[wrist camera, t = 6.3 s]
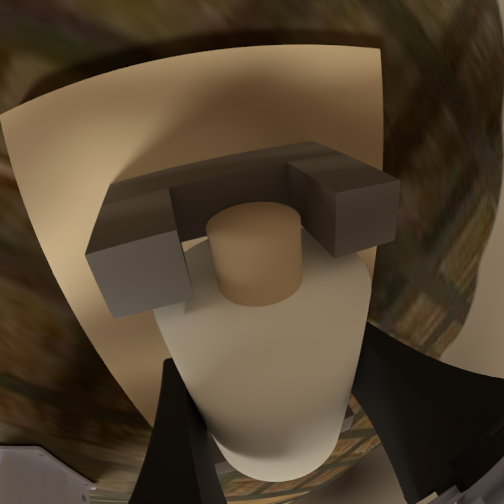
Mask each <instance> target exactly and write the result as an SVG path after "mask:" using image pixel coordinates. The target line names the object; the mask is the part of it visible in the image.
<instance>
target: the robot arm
mask: <svg viewBox="0 0 504 504" xmlns="http://www.w3.org/2000/svg"><path fill="white" fill-rule="evenodd" d="M351 393H352V394H353V395H354V397H355V398H356V400H357V401H358V403H359V404H360V406H361V407H362V409H363V410H364V411H365V413H366V415H367V416H368V418H369V419H370V421H371V423H372V425H373V427H374V429H375V431H376V433H377V434H378V436H379V438H380V440H381V442H382V444H383V447H384V449H385V451H386V453H387V455H388V457H389V459H390V462H391V464H392V466H393V469H394V471H395V473H396V476H397V478H398V481H399V484H400V486H401V489H402V492H403V495H404V498H405V500H406V502H407V503H408V504H416V503H417V502H419V501H421V500H422V499H424V498H426V497H427V496H429V495H430V494H432V493H433V492H436V493H437V495H438V497H437V498H435V499H434V500H432V501H431V502H429V503H428V504H454V503H455V502H457V504H504V379H502V378H496V377H491V376H486V375H482V374H477V373H474V372H470V371H466V370H463V369H460V368H457V367H454V366H451V365H448V364H446V363H443V362H441V361H438V360H436V359H434V358H431V357H429V356H427V355H425V354H423V353H420V352H418V351H416V350H415V349H413V348H411V347H409V346H407V345H405V344H403V343H401V342H400V341H398V340H396V339H395V338H393V337H391V336H390V335H388V334H386V333H385V332H383V331H381V330H380V329H378V328H377V327H375V326H373V325H372V324H370V323H369V322H367V321H366V325H365V330H364V336H363V341H362V346H361V350H360V355H359V360H358V364H357V369H356V373H355V377H354V381H353V385H352V390H351ZM89 489H96V485H95V484H94V483H92V482H90V481H89V480H87V479H86V478H84V477H83V476H81V475H79V474H78V473H76V472H75V471H73V470H72V469H70V468H69V467H67V466H66V465H65V464H63V463H62V462H60V461H59V460H57V459H56V458H55V457H53V456H52V455H51V454H49V453H48V452H47V451H45V450H44V449H43V448H41V447H39V446H0V504H90V496H89ZM128 504H227V502H226V499H225V497H224V494H223V491H222V488H221V485H220V482H219V479H218V476H217V472H216V469H215V464H214V460H213V455H212V450H211V445H210V440H209V435H208V429H207V426H206V424H205V422H204V420H203V418H202V416H201V414H200V413H199V411H198V409H197V407H196V405H195V403H194V401H193V399H192V397H191V395H190V393H189V391H188V389H187V387H186V385H185V383H184V381H183V379H182V377H181V375H180V373H179V371H178V369H177V367H176V364H175V362H174V360H173V358H168V359H165V360H164V361H163V371H162V381H161V388H160V395H159V400H158V406H157V411H156V416H155V421H154V425H153V430H152V434H151V438H150V442H149V446H148V449H147V453H146V456H145V460H144V463H143V466H142V469H141V472H140V475H139V477H138V480H137V483H136V486H135V488H134V491H133V493H132V496H131V498H130V500H129V502H128Z"/></svg>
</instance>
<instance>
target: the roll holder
mask: <svg viewBox="0 0 504 504" xmlns="http://www.w3.org/2000/svg"><path fill="white" fill-rule="evenodd" d="M0 120H1V125H2V129H3V134H4V138H5V142H6V146H7V150H8V153H9V157H10V161H11V164H12V167H13V171H14V174H15V177H16V181H17V184H18V187H19V190H20V193H21V196H22V198H23V201H24V204H25V207H26V210H27V212H28V215H29V218H30V220H31V223H32V225H33V228H34V230H35V233H36V235H37V238H38V240H39V242H40V245H41V247H42V249H43V252H44V254H45V256H46V258H47V260H48V263H49V265H50V267H51V269H52V271H53V273H54V275H55V277H56V279H57V281H58V283H59V285H60V287H61V289H62V291H63V293H64V295H65V297H66V299H67V301H68V303H69V304H70V306H71V308H72V310H73V312H74V314H75V315H76V317H77V319H78V321H79V322H80V324H81V326H82V328H83V329H84V331H85V333H86V334H87V336H88V338H89V339H90V341H91V343H92V344H93V346H94V347H95V349H96V351H97V352H98V354H99V355H100V357H101V358H102V360H103V361H104V363H105V364H106V366H107V367H108V369H109V370H110V372H111V373H112V375H113V376H114V378H115V379H116V380H117V382H118V383H119V385H120V386H121V388H122V389H123V390H124V392H125V393H126V394H127V396H128V397H129V398H130V400H131V401H132V402H133V404H134V405H135V406H136V408H137V409H138V410H139V412H140V413H141V414H142V415H143V417H144V418H145V419H146V420H147V422H148V423H149V424H150V425H151V427H152V428H153V425H154V421H155V416H156V411H157V406H158V400H159V395H160V388H161V381H162V371H163V361H164V360H165V359H168V358H172V356H171V354H170V351H169V349H168V347H167V345H166V342H165V340H164V338H163V336H162V333H161V331H160V329H159V326H158V324H157V322H156V319H155V317H154V312H153V309H157V308H161V307H164V306H168V305H172V304H176V303H180V302H184V301H187V300H191V299H195V296H194V292H193V289H192V284H191V280H190V276H189V272H188V268H187V264H186V260H185V255H184V252H185V251H187V250H188V249H190V248H191V247H193V246H195V245H197V244H199V243H200V242H203V241H205V240H207V239H208V238H207V233H206V225H207V223H208V221H209V220H210V219H211V218H212V217H213V216H214V215H216V214H217V213H219V212H221V211H223V210H225V209H227V208H230V207H233V206H236V205H240V204H244V203H251V202H274V203H280V204H284V205H287V206H289V207H291V208H293V209H294V210H296V211H297V212H298V213H299V215H300V218H301V228H305V229H306V230H307V231H308V232H309V233H310V234H311V235H312V236H313V237H314V238H315V239H316V240H317V241H318V242H319V243H320V244H321V245H322V246H323V247H324V248H325V249H326V250H327V251H328V252H329V253H330V254H331V255H332V257H333V258H334V259H336V258H339V257H342V256H346V255H349V254H352V253H357V254H358V255H359V256H360V258H361V259H362V261H363V262H364V263H365V265H366V267H367V270H368V272H369V275H370V279H371V286H372V279H373V272H374V264H375V256H376V248H377V246H378V245H381V244H385V243H388V242H391V241H394V240H395V234H396V226H397V218H398V208H399V198H400V186H401V180H399V179H397V178H395V177H393V176H391V175H389V174H387V173H385V172H383V171H382V168H383V89H382V69H381V55H380V49H375V48H365V47H353V46H337V45H269V46H252V47H240V48H230V49H221V50H213V51H205V52H198V53H192V54H186V55H180V56H175V57H169V58H164V59H160V60H155V61H150V62H146V63H142V64H137V65H133V66H129V67H126V68H122V69H118V70H115V71H111V72H108V73H104V74H101V75H98V76H95V77H91V78H88V79H85V80H82V81H79V82H76V83H74V84H71V85H68V86H65V87H63V88H60V89H57V90H55V91H52V92H50V93H47V94H45V95H42V96H40V97H38V98H35V99H33V100H31V101H28V102H26V103H24V104H22V105H20V106H17V107H15V108H13V109H11V110H9V111H7V112H5V113H3V114H1V115H0ZM353 418H354V413H353V411H352V410H351V408H350V406H349V405H347V409H346V412H345V416H344V420H343V423H342V426H341V430H340V433H342V432H344V431H346V430H348V429H350V427H351V424H352V421H353ZM207 429H208V427H207ZM208 435H209V440H210V445H211V450H212V455H213V460H214V464H215V469H216V472H217V475H219V474H224V473H227V472H231V471H235V470H237V469H235V468H234V467H233V466H232V465H231V464H230V463H229V462H228V461H227V460H226V459H225V457H224V456H223V454H222V452H221V450H220V449H219V447H218V445H217V444H216V442H215V440H214V438H213V436H212V435H211V433H210V431H209V429H208Z"/></svg>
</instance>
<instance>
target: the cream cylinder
mask: <svg viewBox="0 0 504 504" xmlns="http://www.w3.org/2000/svg"><path fill="white" fill-rule="evenodd" d="M206 233H207V238H208V239H207V240H205V241H203V242H200V243H199V244H197V245H195V246H193V247H191V248H190V249H188V250H187V251H185V252H184V255H185V260H186V264H187V268H188V272H189V276H190V280H191V284H192V289H193V292H194V296H195V299H191V300H187V301H184V302H180V303H176V304H172V305H168V306H164V307H161V308H157V309H153V312H154V317H155V319H156V322H157V324H158V326H159V329H160V331H161V333H162V336H163V338H164V340H165V342H166V345H167V347H168V349H169V351H170V354H171V356H172V358H173V360H174V362H175V364H176V367H177V369H178V371H179V373H180V375H181V377H182V379H183V381H184V383H185V385H186V387H187V389H188V391H189V393H190V395H191V397H192V399H193V401H194V403H195V405H196V407H197V409H198V411H199V413H200V414H201V416H202V418H203V420H204V422H205V424H206V426H207V427H208V429H209V431H210V433H211V435H212V436H213V438H214V440H215V442H216V444H217V445H218V447H219V449H220V450H221V452H222V454H223V456H224V457H225V459H226V460H227V461H228V462H229V463H230V464H231V465H232V466H233V467H234V468H235V469H237V470H238V471H239V472H241V473H243V474H245V475H247V476H249V477H251V478H254V479H257V480H262V481H270V482H281V481H288V480H293V479H297V478H300V477H302V476H305V475H307V474H309V473H311V472H312V471H314V470H315V469H317V468H318V467H319V466H320V465H322V464H323V463H324V462H325V461H326V460H327V458H328V457H329V456H330V454H331V453H332V451H333V450H334V448H335V446H336V443H337V440H338V437H339V433H340V430H341V426H342V423H343V420H344V416H345V412H346V409H347V405H348V401H349V397H350V393H351V390H352V385H353V381H354V377H355V373H356V369H357V364H358V360H359V355H360V350H361V346H362V341H363V336H364V330H365V325H366V320H367V314H368V308H369V302H370V296H371V279H370V275H369V272H368V270H367V267H366V265H365V263H364V262H363V261H362V259H361V258H360V256H359V255H358V254H357V253H352V254H349V255H346V256H342V257H339V258H336V259H334V258H333V257H332V255H331V254H330V253H329V252H328V251H327V250H326V249H325V248H324V247H323V246H322V245H321V244H320V243H319V242H318V241H317V240H316V239H315V238H314V237H313V236H312V235H311V234H310V233H309V232H308V231H307V230H306V229H305V228H301V218H300V215H299V213H298V212H297V211H296V210H294V209H293V208H291V207H289V206H287V205H284V204H280V203H274V202H251V203H244V204H240V205H236V206H233V207H230V208H227V209H225V210H223V211H221V212H219V213H217V214H216V215H214V216H213V217H212V218H211V219H210V220H209V221H208V223H207V225H206Z"/></svg>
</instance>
